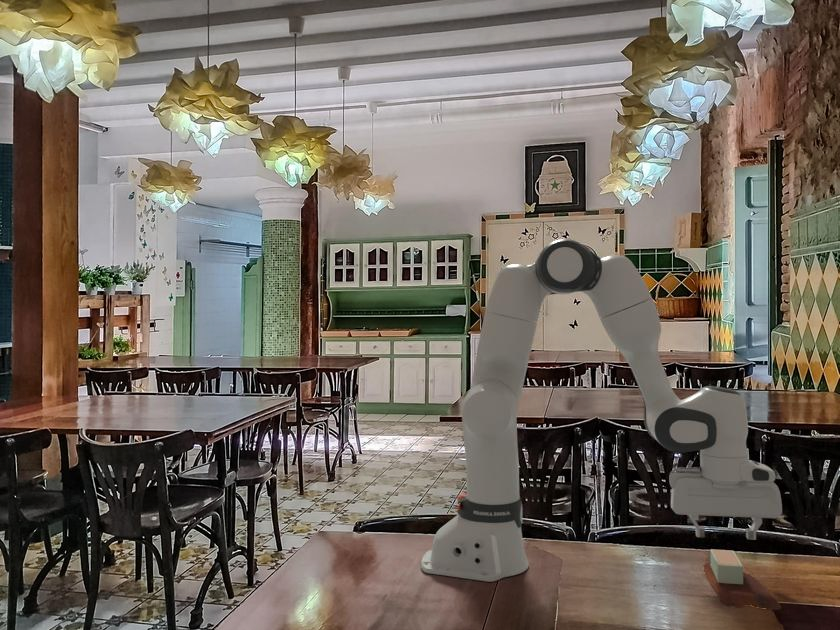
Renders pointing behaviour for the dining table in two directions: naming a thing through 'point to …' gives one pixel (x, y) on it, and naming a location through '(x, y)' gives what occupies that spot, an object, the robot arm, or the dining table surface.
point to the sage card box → (726, 566)
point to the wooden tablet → (742, 592)
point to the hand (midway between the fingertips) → (725, 537)
